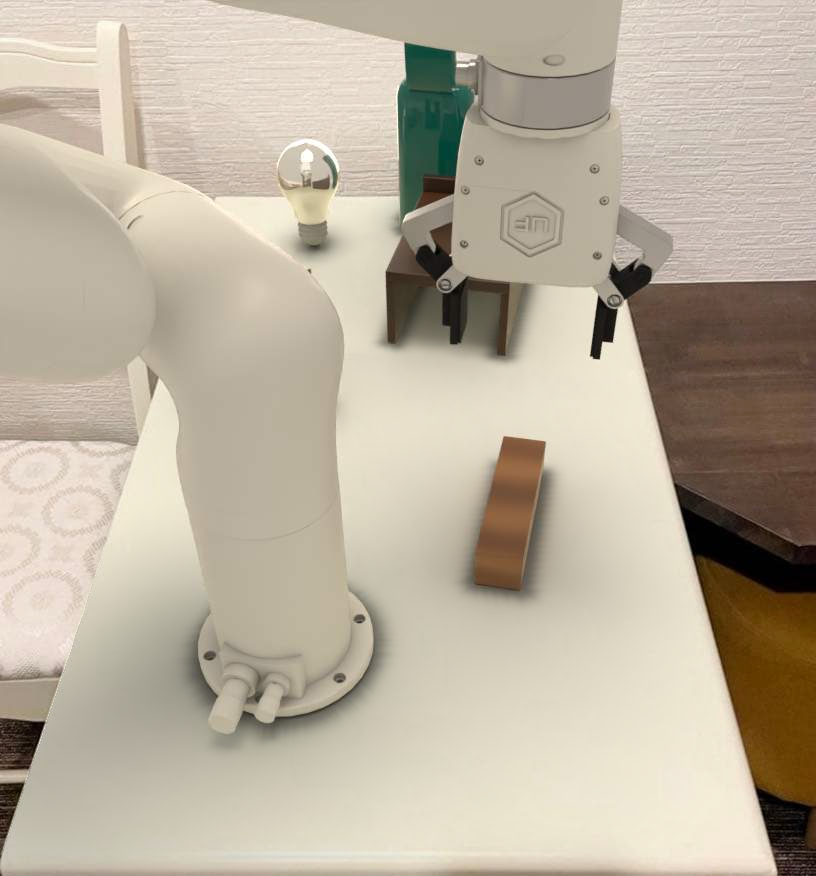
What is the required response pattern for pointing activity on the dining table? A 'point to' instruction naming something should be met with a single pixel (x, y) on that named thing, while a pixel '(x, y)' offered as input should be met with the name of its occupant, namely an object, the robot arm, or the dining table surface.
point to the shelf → (410, 275)
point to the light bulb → (309, 186)
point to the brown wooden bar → (510, 514)
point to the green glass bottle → (428, 120)
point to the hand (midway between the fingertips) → (526, 340)
